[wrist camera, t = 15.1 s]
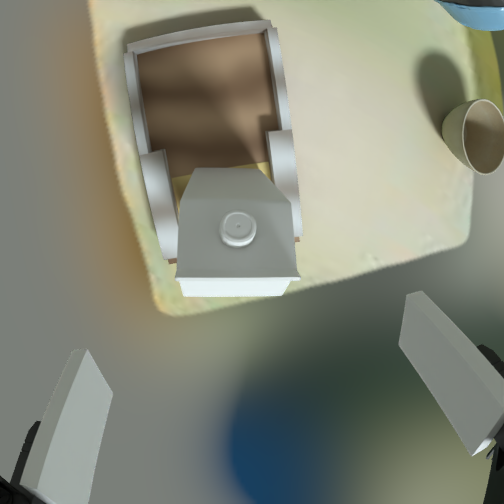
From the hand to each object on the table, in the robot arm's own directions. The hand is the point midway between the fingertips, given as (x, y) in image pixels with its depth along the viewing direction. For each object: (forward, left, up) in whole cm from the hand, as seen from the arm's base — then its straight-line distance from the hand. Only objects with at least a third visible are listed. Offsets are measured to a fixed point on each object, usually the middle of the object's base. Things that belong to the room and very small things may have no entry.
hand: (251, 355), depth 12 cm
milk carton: (0, 0, -26) cm, 26 cm away
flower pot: (-27, +19, -27) cm, 43 cm away
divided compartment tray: (-4, -5, -27) cm, 27 cm away
